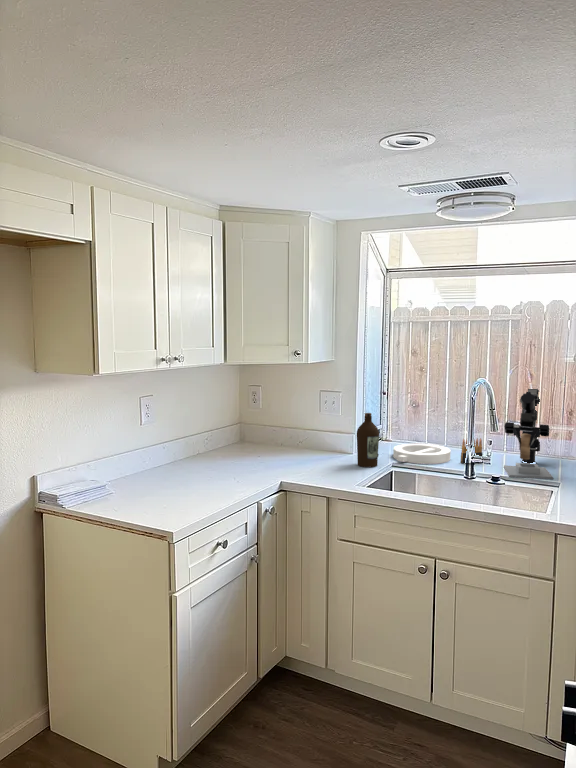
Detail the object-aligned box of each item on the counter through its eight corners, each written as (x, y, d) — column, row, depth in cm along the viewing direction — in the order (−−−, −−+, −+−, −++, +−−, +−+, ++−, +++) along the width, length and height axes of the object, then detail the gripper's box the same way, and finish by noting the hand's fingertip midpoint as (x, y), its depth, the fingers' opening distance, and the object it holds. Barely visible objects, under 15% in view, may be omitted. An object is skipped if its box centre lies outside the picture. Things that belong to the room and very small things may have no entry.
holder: (503, 467, 279) (504, 460, 279) (544, 469, 275) (545, 462, 275) (509, 476, 261) (509, 469, 261) (553, 479, 257) (553, 471, 257)
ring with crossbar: (443, 452, 313) (443, 443, 313) (456, 464, 286) (456, 455, 285) (389, 452, 314) (389, 443, 314) (397, 464, 286) (398, 454, 286)
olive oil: (351, 464, 285) (352, 412, 282) (368, 461, 291) (369, 411, 288) (366, 468, 276) (367, 415, 274) (383, 466, 282) (384, 413, 279)
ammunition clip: (462, 463, 287) (462, 439, 286) (460, 462, 289) (461, 438, 288) (482, 462, 289) (483, 438, 288) (480, 461, 291) (481, 437, 290)
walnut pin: (518, 457, 269) (519, 433, 268) (526, 457, 270) (527, 433, 268) (523, 459, 265) (524, 435, 264) (531, 459, 266) (532, 435, 265)
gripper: (505, 404, 272) (501, 432, 264) (550, 407, 264) (547, 436, 256) (506, 419, 280) (503, 446, 272) (550, 421, 272) (547, 450, 264)
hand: (525, 444), depth 265 cm, fingers closed on walnut pin, 4 cm apart
